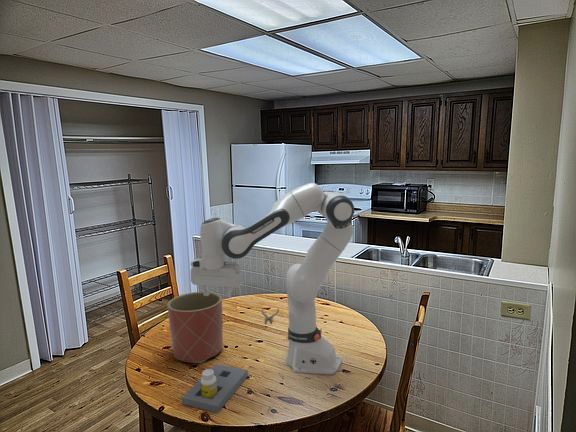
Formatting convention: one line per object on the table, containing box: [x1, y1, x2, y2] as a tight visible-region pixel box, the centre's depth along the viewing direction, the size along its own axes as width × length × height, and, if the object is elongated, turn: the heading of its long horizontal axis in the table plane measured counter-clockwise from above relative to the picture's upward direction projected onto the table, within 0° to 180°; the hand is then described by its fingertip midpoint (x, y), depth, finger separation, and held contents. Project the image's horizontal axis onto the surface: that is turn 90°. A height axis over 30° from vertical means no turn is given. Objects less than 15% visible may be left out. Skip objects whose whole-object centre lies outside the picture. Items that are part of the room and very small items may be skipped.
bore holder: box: [181, 363, 249, 414], centre depth 132 cm, size 14×22×2 cm, turn 160°
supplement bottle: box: [200, 368, 218, 399], centre depth 127 cm, size 5×5×10 cm
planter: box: [166, 291, 224, 364], centre depth 158 cm, size 23×23×24 cm
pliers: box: [261, 308, 280, 325], centre depth 195 cm, size 10×1×20 cm
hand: (217, 296), depth 139 cm, fingers open, 8 cm apart
